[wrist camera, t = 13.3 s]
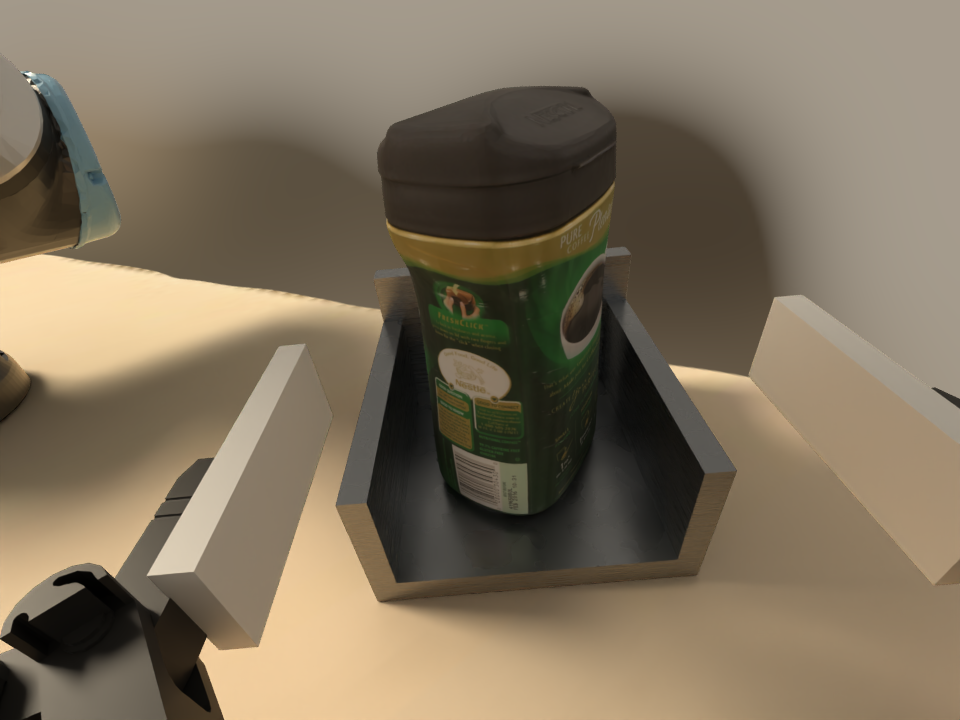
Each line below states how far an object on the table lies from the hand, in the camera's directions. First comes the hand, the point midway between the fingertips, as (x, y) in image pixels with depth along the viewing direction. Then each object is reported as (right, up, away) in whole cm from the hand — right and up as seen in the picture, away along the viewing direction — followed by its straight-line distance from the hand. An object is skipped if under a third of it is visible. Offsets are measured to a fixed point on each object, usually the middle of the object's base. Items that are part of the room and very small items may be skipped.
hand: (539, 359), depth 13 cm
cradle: (+1, -7, +15) cm, 16 cm away
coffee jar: (+1, -6, +14) cm, 15 cm away
